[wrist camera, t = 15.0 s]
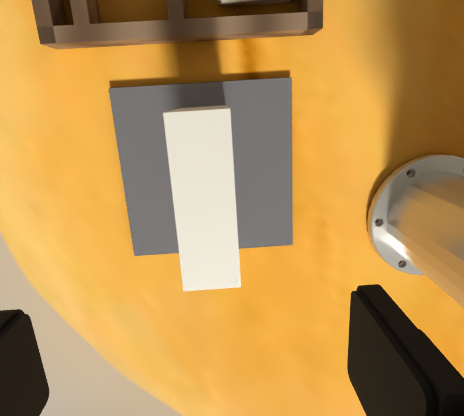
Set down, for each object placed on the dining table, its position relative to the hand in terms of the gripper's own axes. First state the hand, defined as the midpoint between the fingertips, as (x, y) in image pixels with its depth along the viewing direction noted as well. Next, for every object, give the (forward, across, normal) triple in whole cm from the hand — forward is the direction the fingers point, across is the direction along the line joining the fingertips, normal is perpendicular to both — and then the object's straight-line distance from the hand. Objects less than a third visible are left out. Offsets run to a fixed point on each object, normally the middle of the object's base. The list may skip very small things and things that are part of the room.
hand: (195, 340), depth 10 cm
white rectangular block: (+24, 0, 0) cm, 24 cm away
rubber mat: (+25, 0, 0) cm, 25 cm away
